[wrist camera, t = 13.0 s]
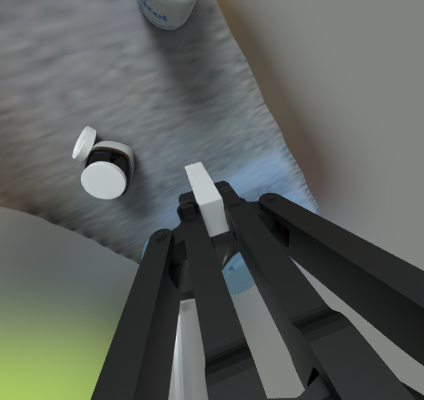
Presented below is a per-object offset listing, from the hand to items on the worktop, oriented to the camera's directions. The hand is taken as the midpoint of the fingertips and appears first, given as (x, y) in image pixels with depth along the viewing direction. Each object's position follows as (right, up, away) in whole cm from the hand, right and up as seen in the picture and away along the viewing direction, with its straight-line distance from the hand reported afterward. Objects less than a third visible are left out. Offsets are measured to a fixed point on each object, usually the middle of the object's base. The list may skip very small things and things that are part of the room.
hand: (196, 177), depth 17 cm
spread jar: (-22, +8, +23) cm, 33 cm away
